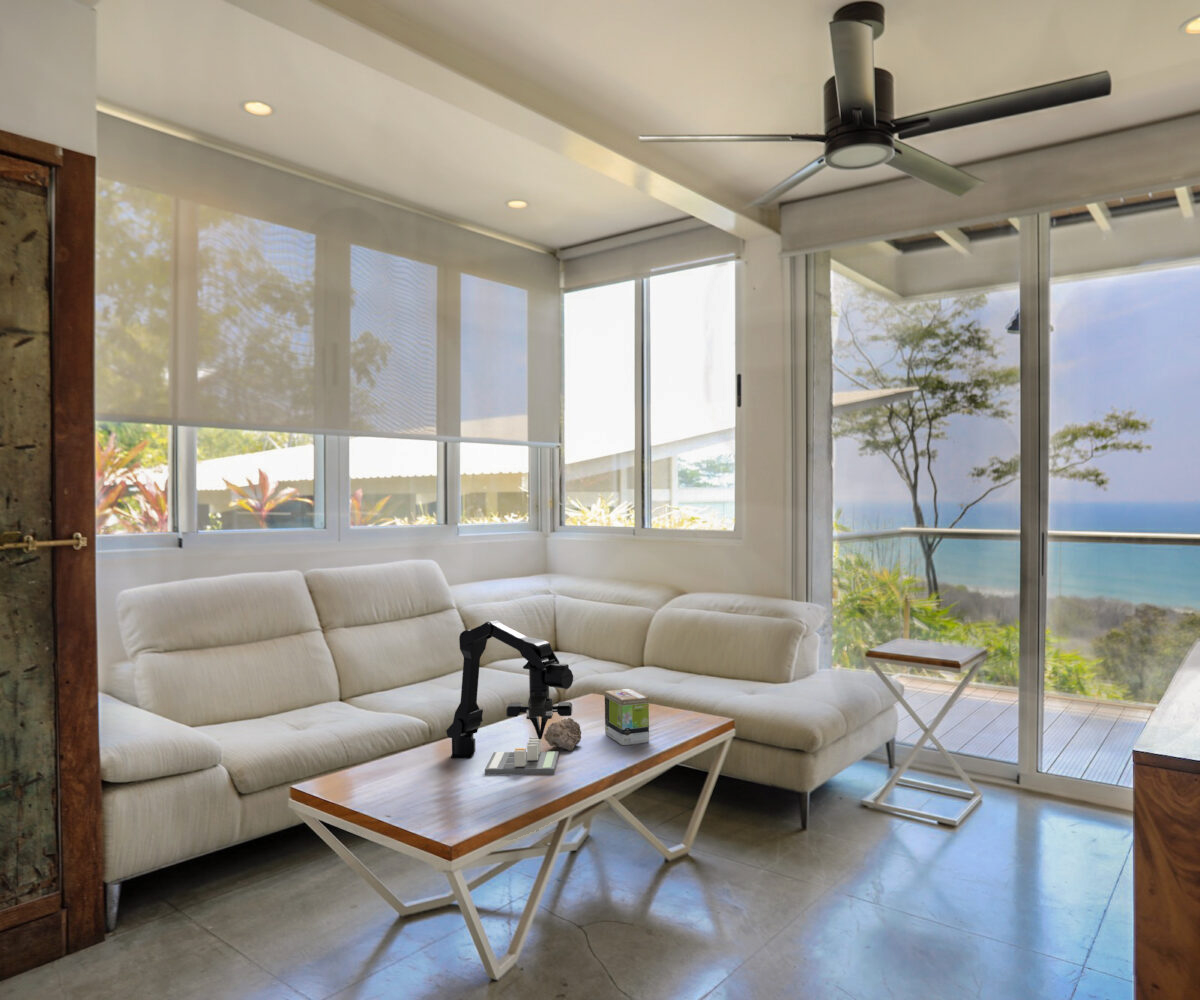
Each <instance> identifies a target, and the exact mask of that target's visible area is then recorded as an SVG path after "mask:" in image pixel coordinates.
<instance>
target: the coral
mask: <svg viewBox="0 0 1200 1000" xmlns="http://www.w3.org/2000/svg"><path fill="white" fill-rule="evenodd" d="M545 731H546V732H545V733H543V737H544V739H545V741H546V742H547V744H549V746H550V747H556V748H558V747H560V748H563V749H565V750H567V751H569V752H571V751H574V747H575V746H577V745H578V744H579V743H580V742H581V739H582V730H581V725H580V723H578V722H577V721H575V720H574V719H573V718H571V717H568V718H567V719H566V718H564V719H561V720H559V721H558V722H556V721H555V722H552V723H550V725H549V726H548V727H547V729H546V730H545Z"/></svg>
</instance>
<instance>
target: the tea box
mask: <svg viewBox="0 0 1200 1000" xmlns="http://www.w3.org/2000/svg"><path fill="white" fill-rule="evenodd" d="M649 699H650V698H649V696H647V695H645V694H643V693H640V692H638V691H636V690H635V689H633V688H623V689H613V690H606V691H605V690H604V730H605V731H604V732H605V733H604V734H605V735H606V736H608V737H610V738H611V739H613V740H614V741H616V742H617V743H618V744H620V745H621V746H630V745H638V744H644V743H645V744H646V743H649V742H650V711H649V709H650V703H649V702H650V701H649Z"/></svg>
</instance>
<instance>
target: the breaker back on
mask: <svg viewBox="0 0 1200 1000" xmlns="http://www.w3.org/2000/svg"><path fill="white" fill-rule="evenodd" d="M528 742H538V754H540V752H541V739H538V736H535V737H534V736H531V737H530V736H529V740H528Z"/></svg>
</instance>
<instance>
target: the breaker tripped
mask: <svg viewBox="0 0 1200 1000" xmlns="http://www.w3.org/2000/svg"><path fill="white" fill-rule="evenodd" d="M513 752H514V759H515V767H516V766H525V765H526V752H527V747H515V748H514V751H513Z"/></svg>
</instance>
